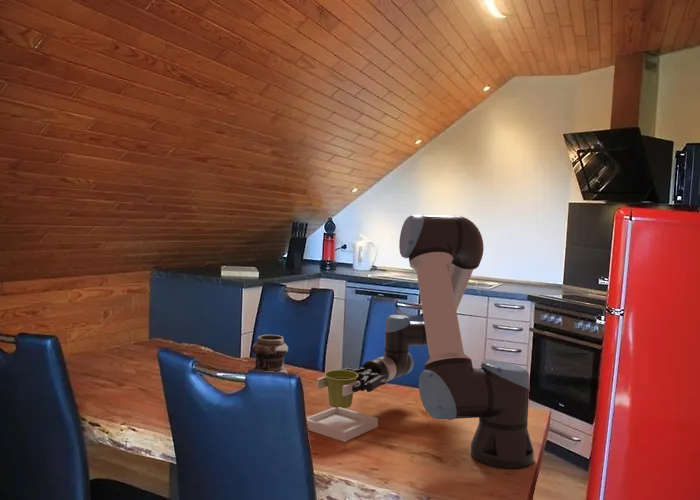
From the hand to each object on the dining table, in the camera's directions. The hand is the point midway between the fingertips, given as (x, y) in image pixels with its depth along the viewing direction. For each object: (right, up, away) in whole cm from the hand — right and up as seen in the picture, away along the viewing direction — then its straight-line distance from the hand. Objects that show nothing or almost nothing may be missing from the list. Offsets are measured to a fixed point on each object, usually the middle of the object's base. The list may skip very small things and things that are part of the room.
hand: (330, 387), depth 157 cm
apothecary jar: (-22, -10, +37) cm, 44 cm away
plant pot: (+3, -6, +4) cm, 8 cm away
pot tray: (+3, -12, +4) cm, 13 cm away
